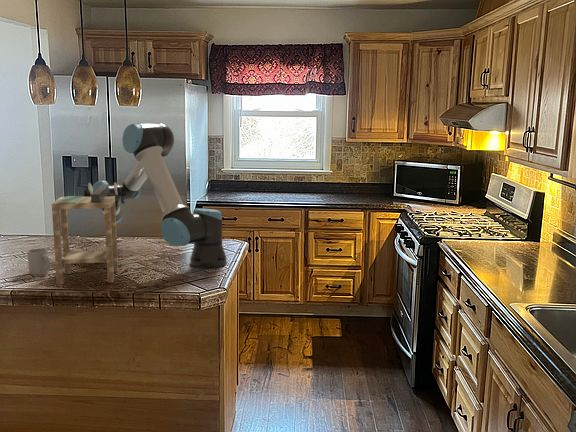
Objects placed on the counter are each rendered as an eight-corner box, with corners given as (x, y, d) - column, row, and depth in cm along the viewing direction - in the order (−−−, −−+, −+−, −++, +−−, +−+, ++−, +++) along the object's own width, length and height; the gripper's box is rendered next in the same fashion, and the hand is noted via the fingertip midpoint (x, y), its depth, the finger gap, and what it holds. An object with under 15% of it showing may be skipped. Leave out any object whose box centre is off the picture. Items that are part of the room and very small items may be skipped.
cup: (40, 269, 231) (39, 247, 230) (57, 272, 227) (56, 250, 225) (24, 273, 225) (23, 251, 223) (42, 277, 220) (40, 254, 219)
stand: (118, 270, 231) (114, 195, 225) (113, 282, 215) (109, 202, 210) (65, 272, 227) (60, 196, 222) (56, 284, 212) (51, 202, 206)
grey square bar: (109, 192, 235) (108, 184, 235) (100, 202, 210) (99, 194, 209) (101, 192, 235) (101, 185, 234) (91, 202, 210) (90, 194, 209)
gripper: (135, 213, 248) (130, 194, 227) (83, 214, 244) (72, 195, 223) (136, 197, 251) (130, 176, 230) (83, 197, 247) (73, 177, 226)
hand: (102, 185), depth 227 cm, fingers open, 9 cm apart
